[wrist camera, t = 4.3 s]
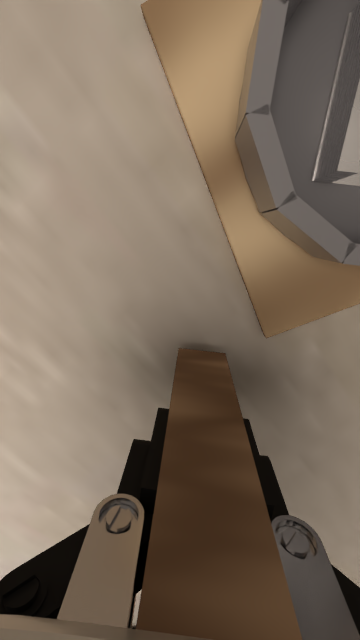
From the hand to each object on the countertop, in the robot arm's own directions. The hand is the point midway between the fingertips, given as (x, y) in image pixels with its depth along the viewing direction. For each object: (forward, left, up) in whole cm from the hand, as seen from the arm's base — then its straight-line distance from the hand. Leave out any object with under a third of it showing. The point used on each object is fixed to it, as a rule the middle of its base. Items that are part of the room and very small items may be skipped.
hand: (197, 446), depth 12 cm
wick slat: (0, 0, -5) cm, 5 cm away
